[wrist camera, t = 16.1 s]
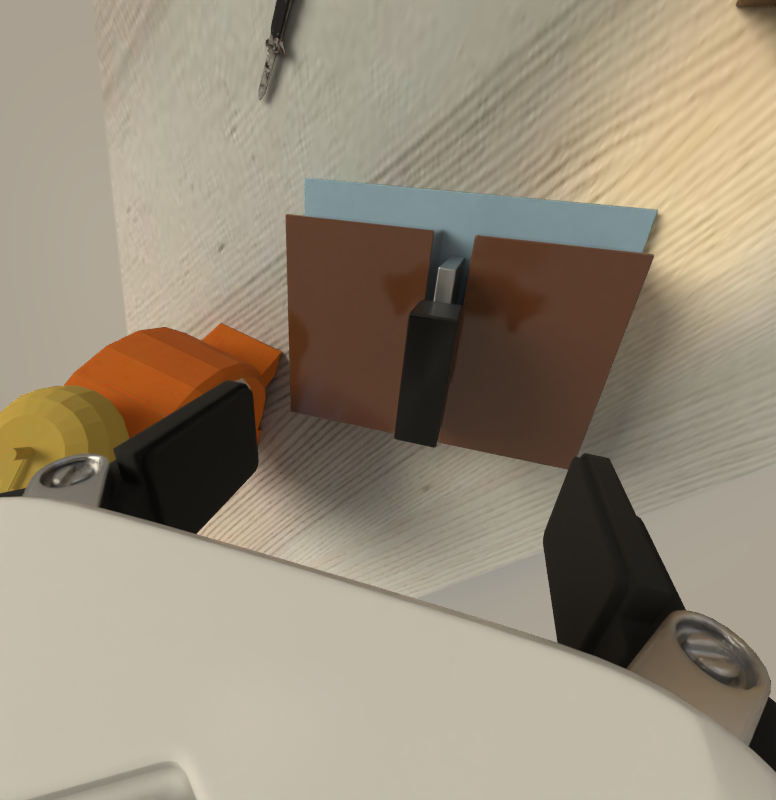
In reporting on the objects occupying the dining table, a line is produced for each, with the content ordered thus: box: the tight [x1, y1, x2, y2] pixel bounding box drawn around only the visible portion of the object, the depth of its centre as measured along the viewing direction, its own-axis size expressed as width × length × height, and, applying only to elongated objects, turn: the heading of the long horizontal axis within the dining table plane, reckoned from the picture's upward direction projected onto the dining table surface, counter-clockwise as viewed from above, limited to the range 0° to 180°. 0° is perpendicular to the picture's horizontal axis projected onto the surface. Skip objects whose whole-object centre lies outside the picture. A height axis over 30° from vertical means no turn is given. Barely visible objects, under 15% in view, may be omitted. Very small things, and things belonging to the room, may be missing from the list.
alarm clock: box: [0, 323, 281, 493], centre depth 23 cm, size 13×6×20 cm, turn 158°
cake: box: [286, 178, 658, 469], centre depth 23 cm, size 20×16×5 cm
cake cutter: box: [394, 255, 465, 447], centre depth 20 cm, size 2×9×10 cm, turn 175°
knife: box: [259, 0, 292, 100], centre depth 21 cm, size 6×1×3 cm
